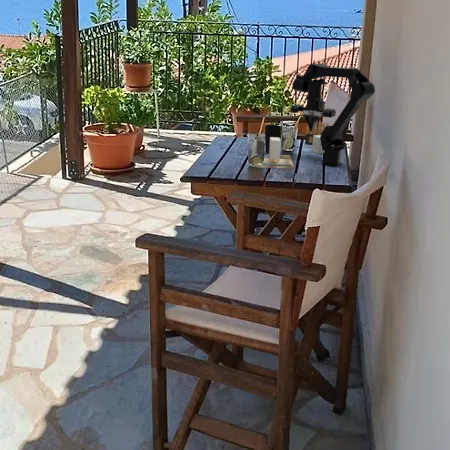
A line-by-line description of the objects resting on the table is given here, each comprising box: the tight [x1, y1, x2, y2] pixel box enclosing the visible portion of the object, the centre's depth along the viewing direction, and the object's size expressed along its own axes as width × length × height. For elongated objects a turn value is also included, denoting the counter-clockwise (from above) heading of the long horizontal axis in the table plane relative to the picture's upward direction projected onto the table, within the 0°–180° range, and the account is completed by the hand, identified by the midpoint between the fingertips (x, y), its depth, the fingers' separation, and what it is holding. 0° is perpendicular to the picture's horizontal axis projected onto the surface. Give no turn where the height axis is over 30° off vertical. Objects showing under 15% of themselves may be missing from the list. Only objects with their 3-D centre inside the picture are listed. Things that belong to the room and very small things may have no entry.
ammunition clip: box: [304, 120, 329, 146], centre depth 303 cm, size 11×2×12 cm, turn 68°
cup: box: [264, 124, 283, 155], centre depth 284 cm, size 8×8×12 cm
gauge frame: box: [253, 136, 295, 170], centre depth 266 cm, size 16×12×10 cm
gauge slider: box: [268, 137, 282, 163], centre depth 266 cm, size 4×10×9 cm, turn 1°
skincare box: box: [311, 135, 325, 155], centre depth 291 cm, size 6×6×7 cm
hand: (311, 130), depth 276 cm, fingers closed
